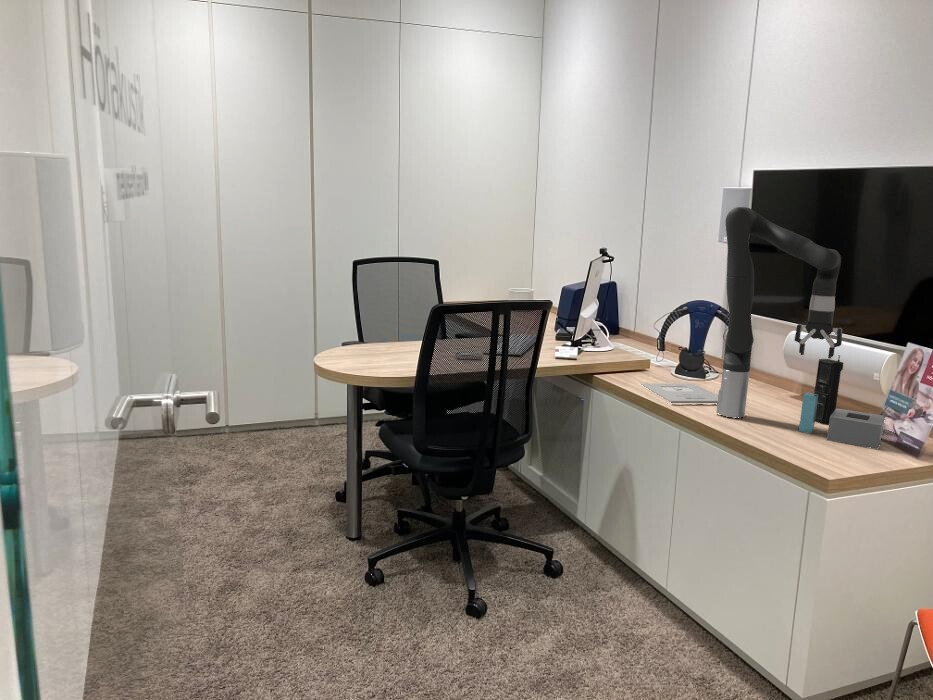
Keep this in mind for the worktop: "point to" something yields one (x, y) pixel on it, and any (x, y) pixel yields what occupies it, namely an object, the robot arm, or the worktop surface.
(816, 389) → the portable radio
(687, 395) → the award plaque
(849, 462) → the worktop surface
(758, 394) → the worktop surface
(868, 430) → the block
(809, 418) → the teal rectangular block
